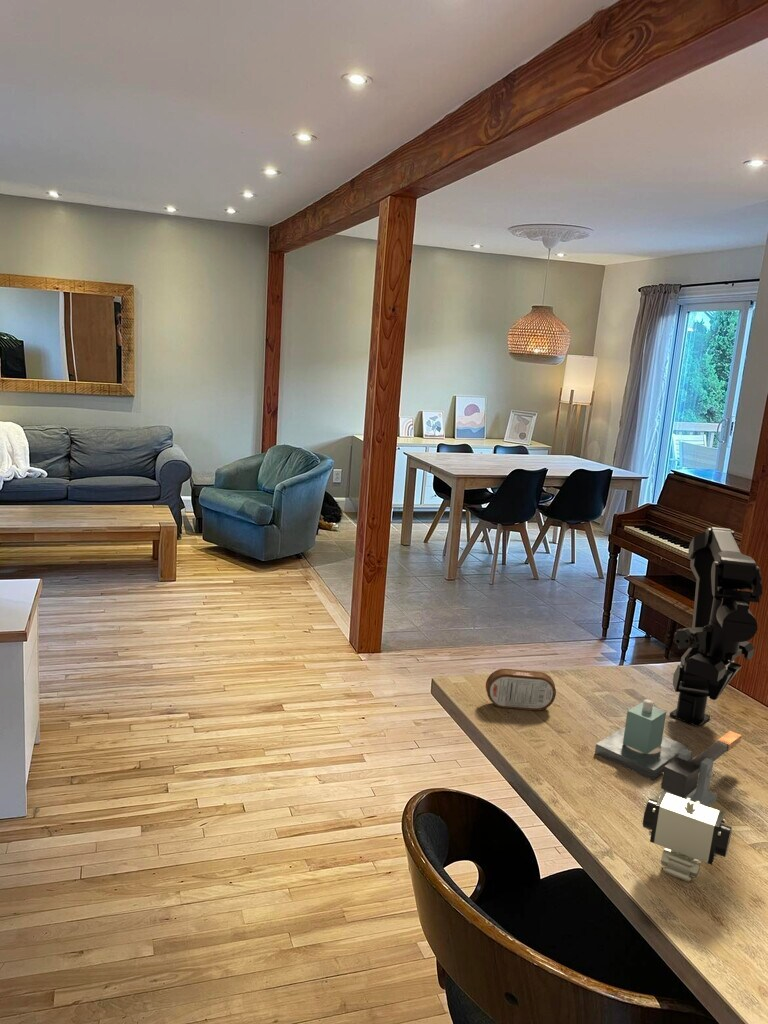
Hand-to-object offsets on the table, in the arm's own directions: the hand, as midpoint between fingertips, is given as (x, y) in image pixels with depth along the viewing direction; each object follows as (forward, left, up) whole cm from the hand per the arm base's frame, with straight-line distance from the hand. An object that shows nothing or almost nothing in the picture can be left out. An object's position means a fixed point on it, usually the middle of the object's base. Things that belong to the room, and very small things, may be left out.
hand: (713, 698), depth 147 cm
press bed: (+9, -9, -13) cm, 18 cm away
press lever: (+11, +4, -9) cm, 14 cm away
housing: (+9, -9, -11) cm, 16 cm away
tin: (+12, -36, -13) cm, 40 cm away
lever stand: (+16, +4, -13) cm, 21 cm away
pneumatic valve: (+37, +12, -13) cm, 41 cm away
